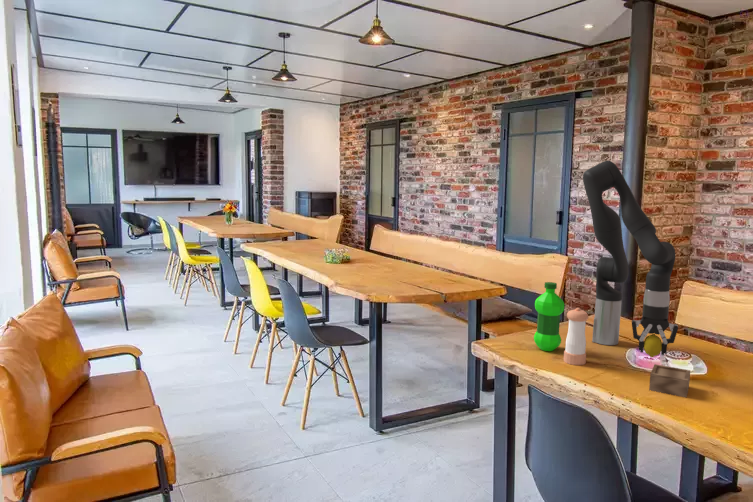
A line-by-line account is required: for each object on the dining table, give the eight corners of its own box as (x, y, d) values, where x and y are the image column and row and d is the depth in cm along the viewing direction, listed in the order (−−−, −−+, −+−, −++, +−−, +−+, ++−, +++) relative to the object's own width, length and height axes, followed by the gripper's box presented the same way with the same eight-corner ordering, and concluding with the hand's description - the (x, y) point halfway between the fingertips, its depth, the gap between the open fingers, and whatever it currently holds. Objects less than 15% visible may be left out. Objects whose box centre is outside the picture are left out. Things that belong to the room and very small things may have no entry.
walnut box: (648, 391, 169) (650, 373, 169) (653, 380, 178) (654, 364, 177) (686, 398, 164) (688, 380, 163) (688, 387, 172) (690, 370, 172)
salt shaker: (565, 357, 199) (568, 304, 196) (586, 360, 196) (590, 307, 193) (562, 363, 192) (565, 309, 190) (584, 366, 189) (588, 311, 187)
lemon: (660, 355, 185) (662, 332, 184) (661, 361, 180) (663, 337, 179) (642, 353, 187) (643, 330, 186) (642, 358, 182) (644, 335, 181)
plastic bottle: (534, 343, 215) (538, 279, 211) (563, 347, 210) (567, 282, 207) (530, 350, 206) (533, 284, 202) (559, 354, 201) (564, 287, 198)
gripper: (631, 303, 180) (628, 353, 183) (682, 308, 175) (677, 359, 177) (631, 298, 187) (628, 346, 190) (680, 302, 181) (676, 352, 184)
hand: (652, 352), depth 183 cm, fingers closed on lemon, 5 cm apart
